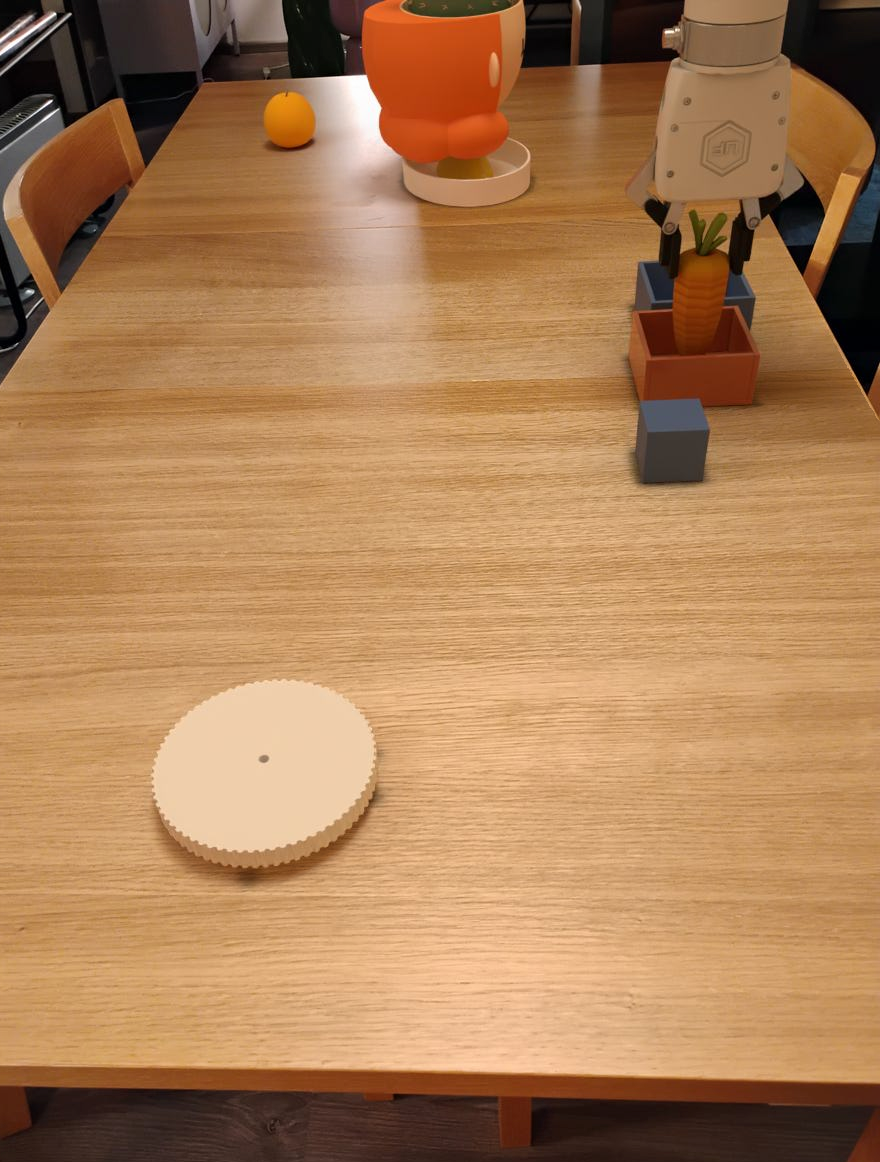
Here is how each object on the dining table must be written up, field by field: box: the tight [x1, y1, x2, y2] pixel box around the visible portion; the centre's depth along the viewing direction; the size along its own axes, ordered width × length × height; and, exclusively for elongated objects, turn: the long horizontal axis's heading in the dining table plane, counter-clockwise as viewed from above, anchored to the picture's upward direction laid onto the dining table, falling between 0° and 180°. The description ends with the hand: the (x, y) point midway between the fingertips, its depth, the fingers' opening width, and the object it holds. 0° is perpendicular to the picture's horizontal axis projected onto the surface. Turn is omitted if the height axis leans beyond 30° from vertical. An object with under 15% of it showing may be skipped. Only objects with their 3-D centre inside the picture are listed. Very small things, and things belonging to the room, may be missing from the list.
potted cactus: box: [361, 0, 531, 208], centre depth 131 cm, size 22×22×35 cm
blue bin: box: [633, 259, 757, 332], centre depth 105 cm, size 10×10×5 cm
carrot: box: [673, 208, 730, 356], centre depth 93 cm, size 5×5×15 cm
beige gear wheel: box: [150, 678, 379, 869], centre depth 64 cm, size 14×14×2 cm
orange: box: [263, 91, 317, 149], centre depth 159 cm, size 8×8×8 cm
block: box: [634, 398, 711, 484], centre depth 87 cm, size 5×5×5 cm
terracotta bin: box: [628, 306, 761, 408], centre depth 97 cm, size 10×10×5 cm
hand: (702, 269), depth 91 cm, fingers closed on carrot, 4 cm apart
